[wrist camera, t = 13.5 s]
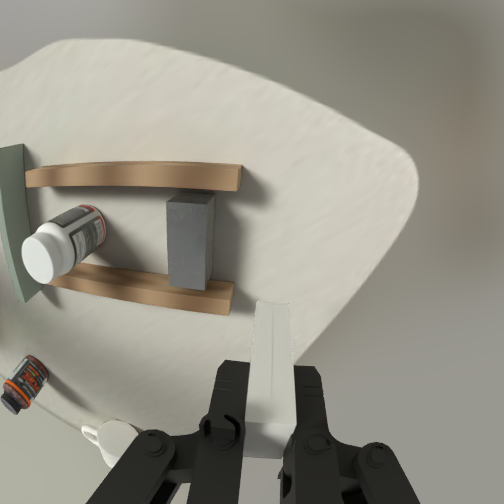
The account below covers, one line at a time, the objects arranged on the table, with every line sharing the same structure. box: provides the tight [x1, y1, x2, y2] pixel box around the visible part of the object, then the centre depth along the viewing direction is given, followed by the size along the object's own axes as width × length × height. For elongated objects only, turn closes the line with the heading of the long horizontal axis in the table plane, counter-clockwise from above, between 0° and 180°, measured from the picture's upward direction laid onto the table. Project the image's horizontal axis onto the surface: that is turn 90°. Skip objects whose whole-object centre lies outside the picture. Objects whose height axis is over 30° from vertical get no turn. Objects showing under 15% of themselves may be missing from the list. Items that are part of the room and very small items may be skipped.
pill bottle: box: [22, 204, 106, 284], centre depth 20 cm, size 5×5×8 cm
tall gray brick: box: [166, 192, 215, 290], centre depth 22 cm, size 3×7×4 cm, turn 175°
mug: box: [82, 420, 139, 468], centre depth 37 cm, size 12×10×8 cm
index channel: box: [25, 161, 242, 316], centre depth 23 cm, size 21×12×3 cm, turn 85°
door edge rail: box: [0, 144, 43, 303], centre depth 22 cm, size 2×18×4 cm, turn 175°
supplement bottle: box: [0, 356, 48, 415], centre depth 30 cm, size 6×6×11 cm
